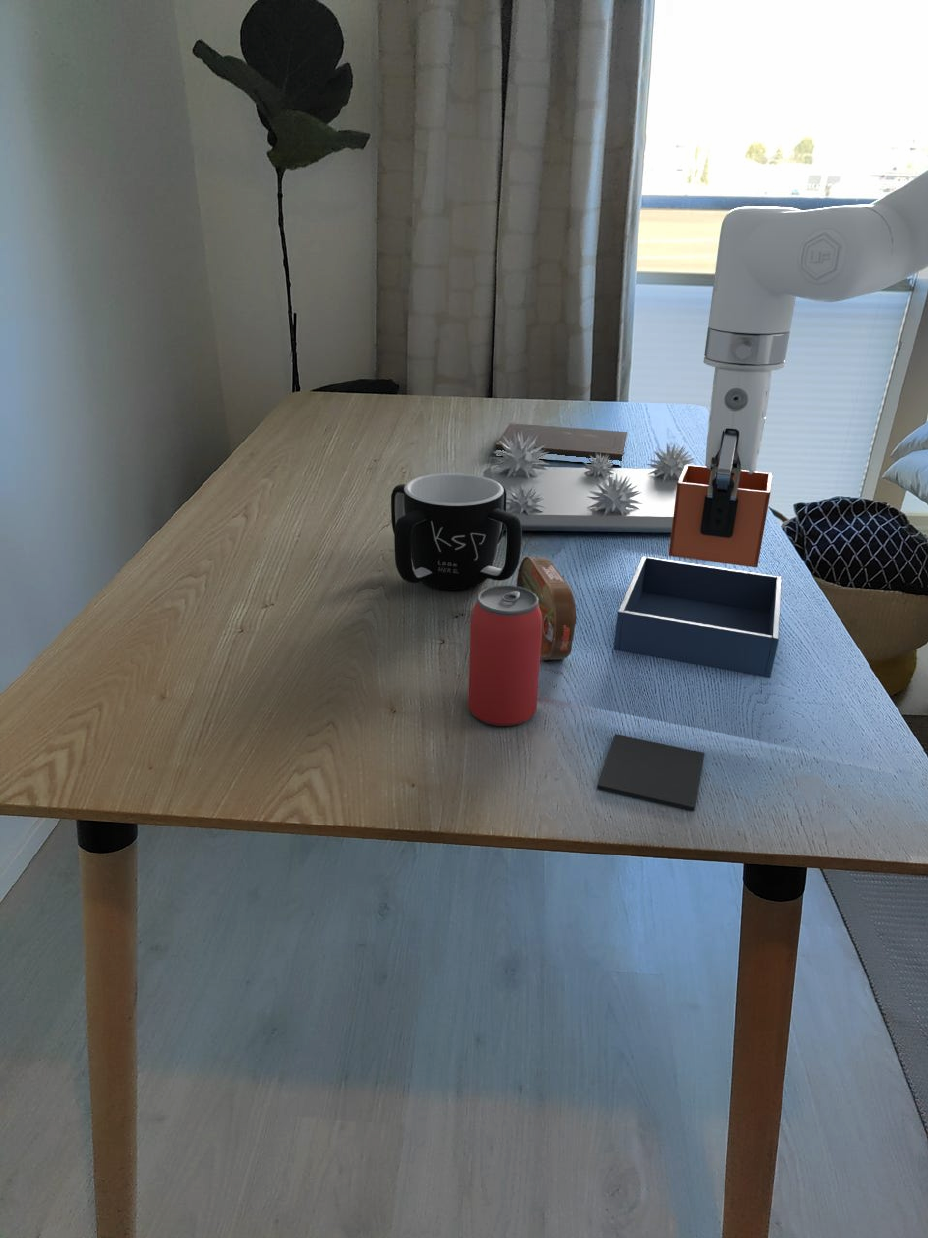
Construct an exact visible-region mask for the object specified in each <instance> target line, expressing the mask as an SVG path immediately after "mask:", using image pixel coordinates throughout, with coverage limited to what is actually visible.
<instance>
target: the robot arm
mask: <svg viewBox="0 0 928 1238" xmlns="http://www.w3.org/2000/svg"><path fill="white" fill-rule="evenodd" d="M715 263H716V264H715V269H714V270H715V271H714V279H713V285H712V294H711V301H710V310H709V315H708V316H709V318H708V323H707V324H708V327H707V332H706V338H705V347H704V354H703V355H704V356H703V364H705V365H706V366H710V367H712V368H714V372H713V373H714V374H713V382H712V389H711V396H710V404H709V413H708V423H707V424H708V425H707V431H706V432H707V434H706V444H705V445H706V447H705V464H704V465H705V466H706V467H707V468H708V469H709V470H711V476H710V482H709V488H708V494H707V495H705V500H704V507H703V514H702V521H701V529H700V532H701V534H703V535H710V536H718V537H726V538H730V537H732V535H733V530H734V524H735V517H736V511H737V505H738V499H736V494H737V488H738V482H739V476H740V474H741V470H746V471H749V473H748V474H752V473H754V472H757V466H758V462H759V456H760V451H761V446H762V439H763V433H764V428H765V422H766V415H767V409H768V403H769V398H770V389H771V380H772V371H778V370H780V369H783V368H784V367H785V361H786V356H787V351H788V346H789V345H788V344H789V339H790V333H791V332H790V331H791V328H792V327H791V326H792V321H793V315H794V309H795V304H796V298H800V299H805V300H809V301H813V302H819V303H834V302H835V303H836V302H841V301H845V300H849V299H854V298H856V297H860V296H866V295H870V294H873V293H877V292H880V291H882V290H885V289H888V288H889V287H891V286H893V285H896V284H898V283H899V282H902V281H903V280H906V279H907V278H909V277H912V276H913V275H915V274H918V272H920V271H923V270H925V269H927V268H928V169H927V170H926V171H924V172H922V173H921V174H919V175H918V176H916V177H914V178H912V179H911V180H909V181H908V182H906V183H904V184H903V185H901V186H899V187H897V188H896V189H894V190H892V191H891V192H888V194H885V195H884V196H882V197H880V198H879V199H877V200H875V201H873V202H871V203H869V204H851V205H838V206H837V205H836V206H829V207H823V208H822V207H821V208H814V209H806V210H801V209H799V208H795V207H786V206H782V207H781V206H741V207H736V208H734V209H730V210H729V212H727V214H726V215H725V216H724V217H723V220H722V222H721V227H720V232H719V240H718V247H717V255H716V262H715ZM716 475H717V477H716ZM731 476H734V479H733V478H730V477H731ZM731 489H732V491H731Z"/></svg>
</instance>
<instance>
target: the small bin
mask: <svg viewBox="0 0 928 1238" xmlns="http://www.w3.org/2000/svg"><path fill="white" fill-rule="evenodd" d="M748 473H749V471H746V470H741V474H740V476H739V482H738V488H737V494H736V499H738V505H737V511H736V517H735V524H734V530H733V535H732V537H730V538H726V537H718V536H710V535H703V534H701V532H700V529H701V521H702V514H703V507H704V500H705V495H707V494H708V488H709V482H710V476H711V470H709V469H708V468H707V467H706V466H704V465H695V464H688V465H687V464H686V465H685V467H684V469H683V471H682V474H681V476H680V478H679V481H678V483H677V490H676V498H675V506H674V514H673V522H672V530H671V533H670V537H669V538H670V540H669V545H668V546H669V548H668V555H667V556H668V557H675V558H681V559H690V560H695V561H696V560H697V561H706V562H710V563H711V562H712V563H719V564H725V565H726V564H727V565H735V566H741V567H749V568H758V567H759V560H760V556H761V555H760V554H761V549H762V545H763V538H764V531H765V526H766V521H767V514H768V510H769V504H770V498H771V493H772V484H773V483H772V481H773V472H765V471H764V472H763V471H755V472H754V473H752V474H748ZM716 477H717V475H716ZM730 478H733V479H734V476H731V477H730ZM731 491H732V489H731Z"/></svg>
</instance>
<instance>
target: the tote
mask: <svg viewBox="0 0 928 1238" xmlns="http://www.w3.org/2000/svg"><path fill="white" fill-rule="evenodd" d="M782 587H783V576H779V575H774V574H773V575H772V574H765V573H759V572H752V571H747V570H740V569H731V568H726V567H720V566H712V565H705V564H699V563H693V562H686V561H679V560H673V559H665V558H659V557H652V556H646V555H645V556H644V555H641V558H640V560H639V563H638V565H637V566H636V568H635V572H634V574H633V576H632V579H631V580H630V583H629V585H628V588H627V590H626V592H625V594H624V597H623V599H622V601H621V604H620V606H619V608H618V611H617V614H616V615H617V616H616V624H615V631H614V632H615V633H614V641H613V650H614V651H619V652H620V651H621V652H624V653H625V652H626V653H630V654H636V655H643V656H648V657H653V658H657V659H658V658H659V659H662V660H663V659H664V660H670V661H675V662H681V663H687V664H692V665H697V666H702V667H708V668H713V669H719V670H724V671H730V672H735V673H741V674H745V675H752V676H757V677H763V678H769V679H771V678H772V673H773V667H774V664H775V660H776V655H777V648H778V645H779V640H780V626H781V625H780V623H781V606H782V589H783V588H782Z"/></svg>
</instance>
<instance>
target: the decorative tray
mask: <svg viewBox="0 0 928 1238" xmlns="http://www.w3.org/2000/svg"><path fill="white" fill-rule="evenodd" d="M533 434H534V433H533ZM529 436H530V435H529ZM503 437H504V436H503ZM532 437H533V435H532V436H531V437H530V439H529V437H528V438H527V440H526V442H525V443H523V436H522V430H521V436H520V437H519V433H518V438H516V435H515V432H514V444H513V443H512V441H511V440H510V442H509V441H508V440H507V439H506V438H505V437H504V439H505V441H506V443H507V444H508V446H509V447H508V446H506V445H505V444H504V443H502V442H501V441H499V442H500V443H501V445H502V446H503V447H504V449H505V450H506V452H507V453H503V452H496V451H495V450H494V451H493V453H494V454H495V453H496V454H498V455H501V456H503V457H501V456H491V459H495V460H497V461H499V462H502V463H500V464H498V465H490V466H489V467H488V468H486V469H485V470H484V471H483V472H482V474H483V475H482V476H483V477H486V478H489V479H492V480H494V481H496V482H498V483H499V484H501V485H503V486H504V487H505V490H506V512H509V513H511V514H514V515H516V516H517V517H518V518H519V520H520V522H521V526H522V531H536V532H537V531H538V532H539V531H545V532H549V531H550V532H602V533H603V532H604V533H605V532H608V533H609V532H611V533H613V532H614V533H621V532H622V533H669V534H671V530H672V522H673V514H674V506H675V498H676V490H677V483H678V481H679V478H680V476H681V474H682V471H683V469H684V467H685V465H686V464H687V465H691V464H692V463H695V462H696V461H697V459H696V458H695V457H694V458H690V457H691V456H693V453H691V454H689V452H690V451H689V450H688V451H686V452H685V450H686V448H687V446H685V445H682V447H681V448H680V449H679V446H676V442H673V445H672V449H671V446H670V445H669V443H666V452H665V451H664V450H662V449H661V448H660V447H659V446H656V447H657V449H658V450H659V452H660V453H659V452H658V451H654V454H655V455H656V457H657V458H658V459H659V460H657V459H649V458H648V459H647V460H648V461H651V462H652V463H646V465H647V466H649V468H622V467H621V468H620V467H619V468H617V467H616V468H615V467H614V466H613V465H615V464H613V463H610V462H612V461H613V460H612V461H609V462H608V460H609V459H610V458H609V459H607V458H608V456H609V455H608V456H607V455H606V456H607V457H606V456H605V457H604V455H603V457H602V459H601V453H600V457H599V455H598V456H597V453H596V460H595V459H594V458H592V457H591V456H590V457H591V458H592V460H593V461H591V460H590V459H589V458H588V459H589V461H590V462H591V464H585V463H583V464H584V465H586V466H584V467H565V466H564V467H561V466H560V467H559V466H542V465H549V463H547V462H545V461H544V460H538V459H537V458H539V457H541V456H543V455H545V454H547V453H548V452H545V453H541V452H543V451H544V450H541V451H539V450H540V449H541V448H543V447H544V446H545V445H544V446H541V447H538V448H536V449H533V448H534V447H535V445H536V443H537V442H535V440H536V438H537V437H536V438H535V439H534V440H533V441H532V443H531V444H530V442H531V439H532ZM684 452H685V453H684ZM688 454H689V455H688ZM605 458H606V459H605ZM653 463H654V464H653ZM611 464H612V465H611ZM504 531H506V526H505V527H504Z"/></svg>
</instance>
